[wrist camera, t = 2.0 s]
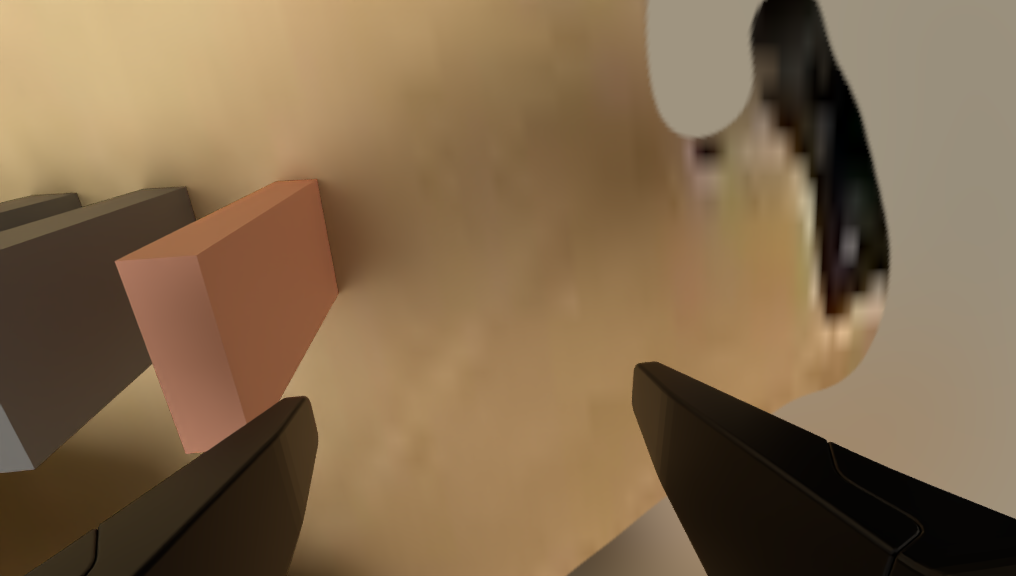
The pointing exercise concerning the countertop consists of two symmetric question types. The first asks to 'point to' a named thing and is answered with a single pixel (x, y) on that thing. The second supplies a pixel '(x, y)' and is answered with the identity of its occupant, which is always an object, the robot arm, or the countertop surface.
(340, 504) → the countertop surface
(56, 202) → the domino
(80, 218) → the domino
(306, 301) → the domino
